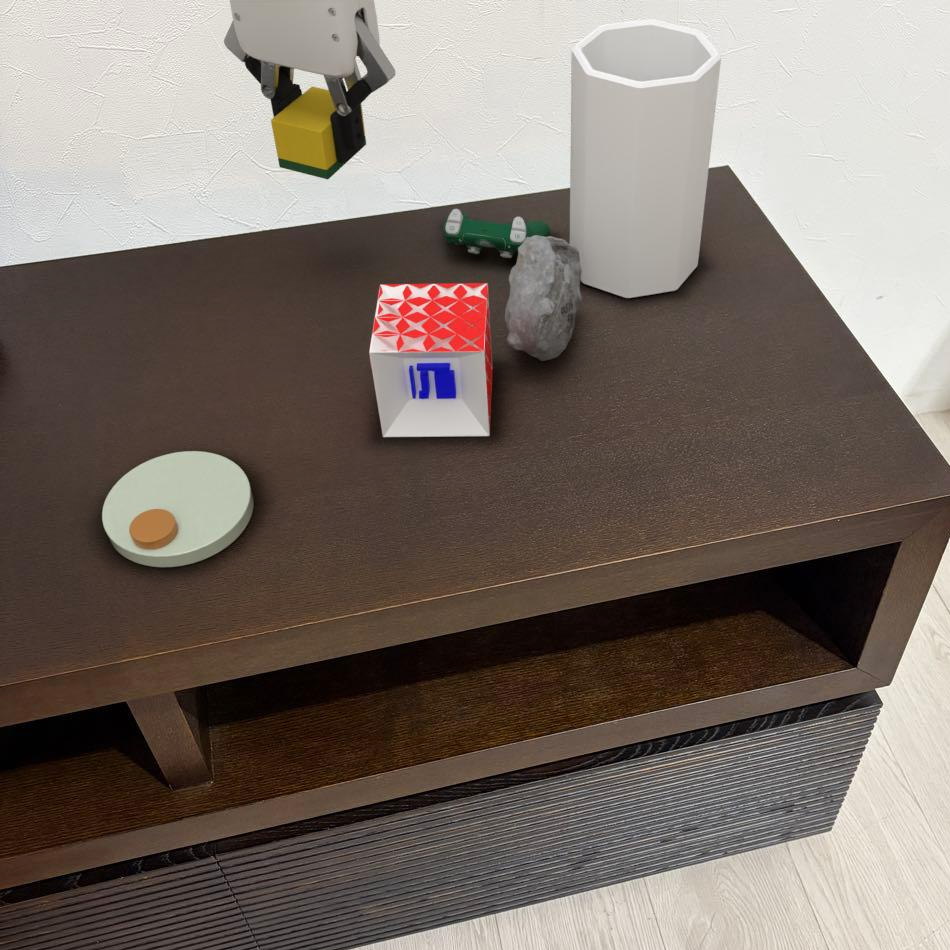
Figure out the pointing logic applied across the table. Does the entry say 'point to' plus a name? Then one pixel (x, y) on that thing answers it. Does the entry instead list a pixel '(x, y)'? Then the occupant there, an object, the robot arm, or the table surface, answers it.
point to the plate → (181, 506)
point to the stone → (543, 296)
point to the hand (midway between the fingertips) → (321, 145)
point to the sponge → (308, 135)
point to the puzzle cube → (432, 359)
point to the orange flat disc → (153, 529)
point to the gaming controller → (490, 233)
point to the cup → (640, 153)
